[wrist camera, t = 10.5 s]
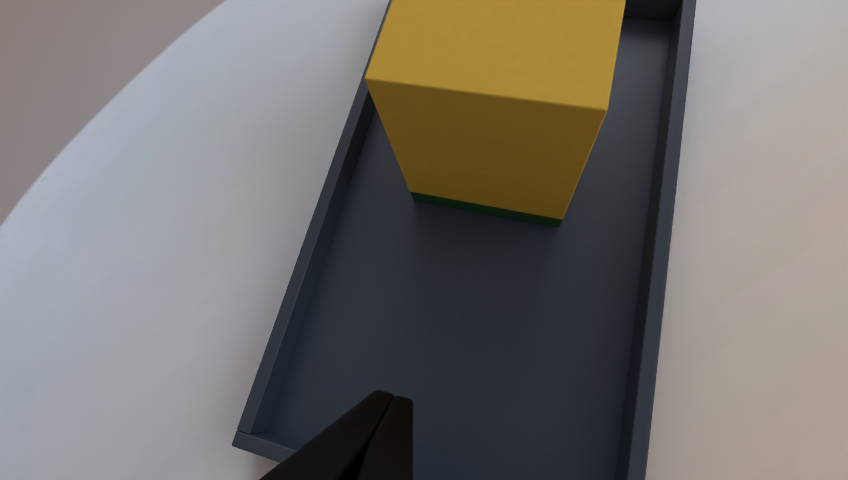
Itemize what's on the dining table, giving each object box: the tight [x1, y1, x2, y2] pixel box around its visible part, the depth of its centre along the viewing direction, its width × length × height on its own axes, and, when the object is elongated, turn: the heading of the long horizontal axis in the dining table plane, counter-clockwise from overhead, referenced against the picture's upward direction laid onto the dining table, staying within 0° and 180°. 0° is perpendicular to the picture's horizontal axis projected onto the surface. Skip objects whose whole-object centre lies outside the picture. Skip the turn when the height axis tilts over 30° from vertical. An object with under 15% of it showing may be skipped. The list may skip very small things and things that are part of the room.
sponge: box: [365, 0, 626, 227], centre depth 18 cm, size 8×7×9 cm
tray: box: [232, 0, 696, 480], centre depth 21 cm, size 25×15×2 cm, turn 165°
